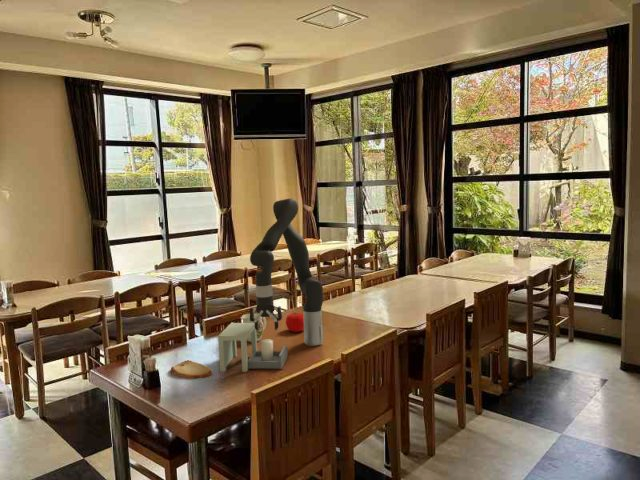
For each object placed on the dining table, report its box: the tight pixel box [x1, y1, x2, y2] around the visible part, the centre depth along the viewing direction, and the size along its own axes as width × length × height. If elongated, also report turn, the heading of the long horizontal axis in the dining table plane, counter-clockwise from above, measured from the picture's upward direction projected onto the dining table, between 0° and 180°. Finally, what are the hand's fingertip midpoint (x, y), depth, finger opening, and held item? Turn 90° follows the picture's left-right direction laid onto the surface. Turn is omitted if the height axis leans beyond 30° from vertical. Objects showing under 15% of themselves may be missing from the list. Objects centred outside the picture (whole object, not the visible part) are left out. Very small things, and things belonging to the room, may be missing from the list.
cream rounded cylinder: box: [260, 338, 274, 361], centre depth 219 cm, size 5×5×9 cm
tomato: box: [285, 312, 304, 333], centre depth 267 cm, size 12×12×10 cm
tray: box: [248, 344, 288, 370], centre depth 219 cm, size 16×15×6 cm
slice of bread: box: [170, 359, 213, 380], centre depth 212 cm, size 18×18×4 cm
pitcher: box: [240, 312, 267, 343], centre depth 254 cm, size 11×18×14 cm, turn 144°
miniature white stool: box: [217, 322, 258, 373], centre depth 220 cm, size 12×20×16 cm, turn 174°
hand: (266, 329), depth 217 cm, fingers open, 8 cm apart
